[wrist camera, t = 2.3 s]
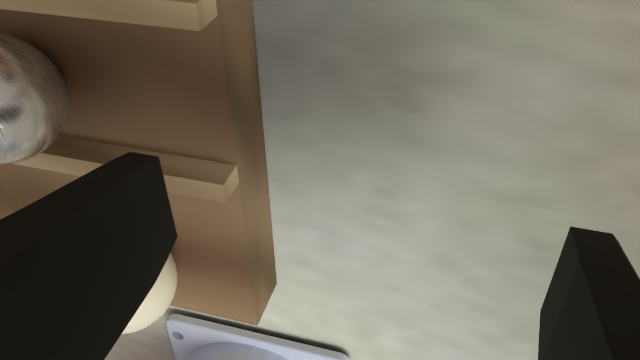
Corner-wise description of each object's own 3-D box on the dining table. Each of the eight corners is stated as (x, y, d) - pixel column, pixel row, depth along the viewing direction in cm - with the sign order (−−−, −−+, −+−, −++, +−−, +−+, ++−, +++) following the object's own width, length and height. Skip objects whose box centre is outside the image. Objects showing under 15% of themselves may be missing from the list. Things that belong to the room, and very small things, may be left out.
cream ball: (201, 287, 19) (154, 367, 17) (118, 268, 20) (61, 342, 17) (186, 216, 17) (130, 295, 15) (94, 198, 18) (27, 271, 15)
